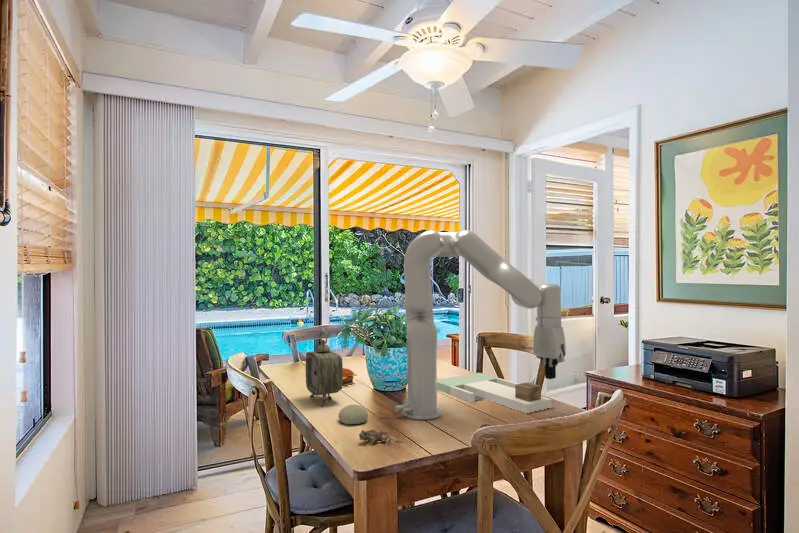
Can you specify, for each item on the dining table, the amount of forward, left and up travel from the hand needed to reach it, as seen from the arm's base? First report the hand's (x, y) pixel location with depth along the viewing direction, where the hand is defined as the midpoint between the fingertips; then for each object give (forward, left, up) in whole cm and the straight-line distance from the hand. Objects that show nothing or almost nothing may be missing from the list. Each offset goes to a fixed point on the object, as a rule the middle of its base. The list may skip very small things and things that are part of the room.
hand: (550, 378), depth 160 cm
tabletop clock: (-56, +53, -12) cm, 79 cm away
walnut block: (0, +9, -9) cm, 13 cm away
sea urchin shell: (-57, +28, -12) cm, 65 cm away
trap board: (0, +26, -12) cm, 29 cm away
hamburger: (-40, +72, -12) cm, 84 cm away
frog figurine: (-60, +10, -12) cm, 62 cm away
